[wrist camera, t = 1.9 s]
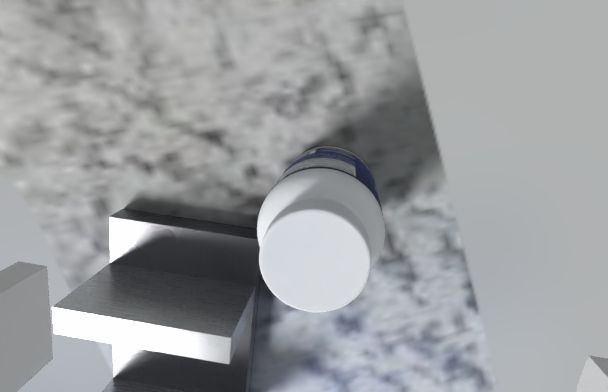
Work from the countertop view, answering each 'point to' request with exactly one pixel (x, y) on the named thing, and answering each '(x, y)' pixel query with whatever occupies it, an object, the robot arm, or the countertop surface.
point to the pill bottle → (320, 230)
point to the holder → (171, 304)
